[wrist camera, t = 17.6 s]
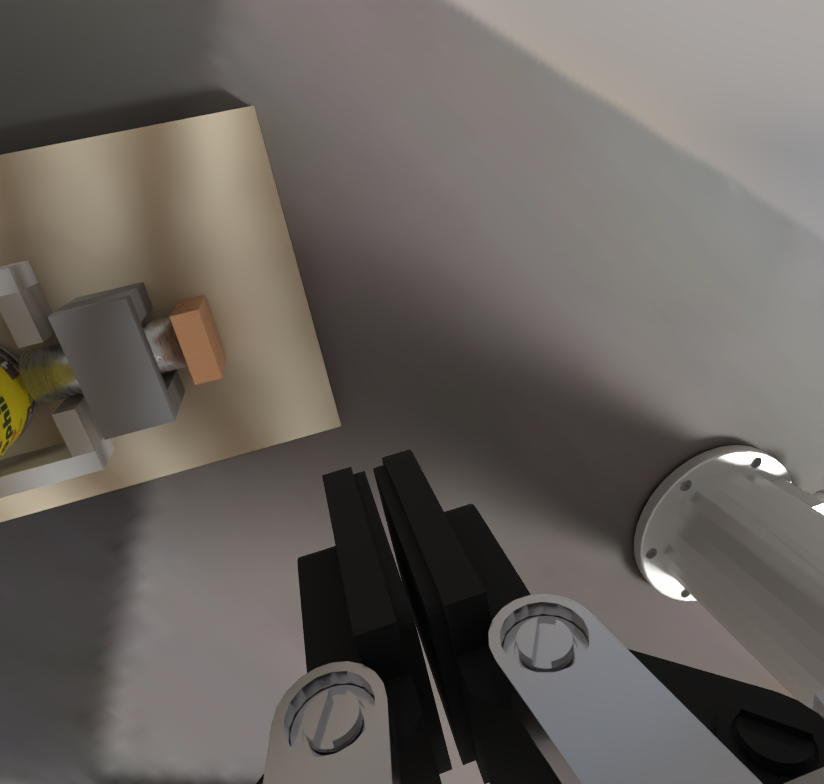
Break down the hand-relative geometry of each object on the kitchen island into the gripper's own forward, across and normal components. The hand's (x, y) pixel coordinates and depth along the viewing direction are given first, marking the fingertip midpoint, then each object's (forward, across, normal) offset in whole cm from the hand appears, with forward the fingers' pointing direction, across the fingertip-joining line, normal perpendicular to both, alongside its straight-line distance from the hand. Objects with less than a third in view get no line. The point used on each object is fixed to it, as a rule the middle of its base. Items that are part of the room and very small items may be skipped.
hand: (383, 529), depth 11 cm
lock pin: (+20, +9, 0) cm, 22 cm away
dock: (+21, +12, -1) cm, 24 cm away
